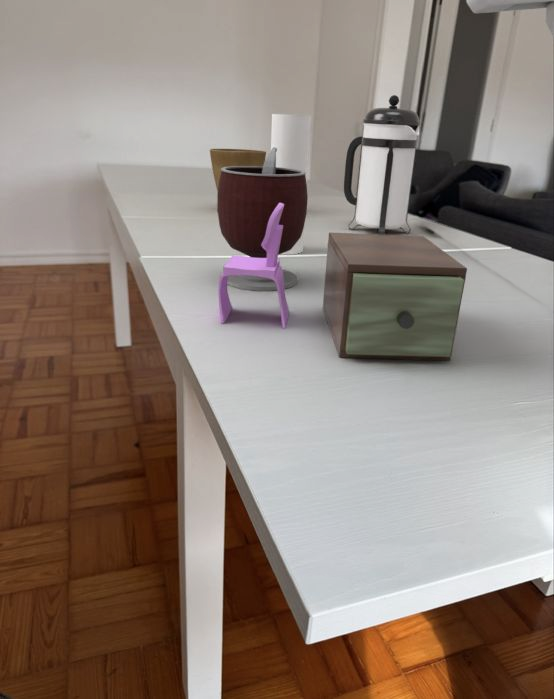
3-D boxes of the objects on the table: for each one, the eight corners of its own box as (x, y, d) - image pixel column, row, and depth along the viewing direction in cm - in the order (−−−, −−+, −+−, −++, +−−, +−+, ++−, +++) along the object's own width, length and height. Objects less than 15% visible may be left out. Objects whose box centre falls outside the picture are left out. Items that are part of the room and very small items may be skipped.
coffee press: (408, 227, 140) (426, 98, 128) (411, 239, 125) (431, 95, 114) (340, 222, 142) (351, 95, 131) (335, 233, 128) (348, 91, 116)
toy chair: (227, 305, 77) (228, 195, 71) (289, 310, 76) (296, 199, 70) (215, 325, 69) (215, 204, 63) (284, 331, 69) (291, 209, 63)
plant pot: (275, 213, 151) (278, 151, 145) (235, 218, 141) (236, 152, 135) (238, 205, 160) (239, 147, 154) (198, 209, 150) (198, 147, 144)
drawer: (453, 361, 60) (468, 283, 56) (348, 358, 59) (356, 279, 56) (413, 310, 75) (422, 246, 72) (329, 308, 75) (335, 243, 71)
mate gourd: (295, 296, 82) (303, 155, 74) (206, 287, 84) (205, 149, 76) (308, 270, 96) (317, 149, 88) (231, 263, 98) (233, 144, 91)
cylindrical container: (276, 244, 114) (282, 114, 104) (308, 249, 111) (317, 115, 102) (260, 251, 108) (265, 113, 98) (293, 256, 105) (301, 115, 96)
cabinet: (450, 360, 63) (467, 268, 58) (339, 357, 62) (348, 264, 58) (412, 311, 78) (423, 235, 74) (322, 309, 77) (328, 232, 73)
